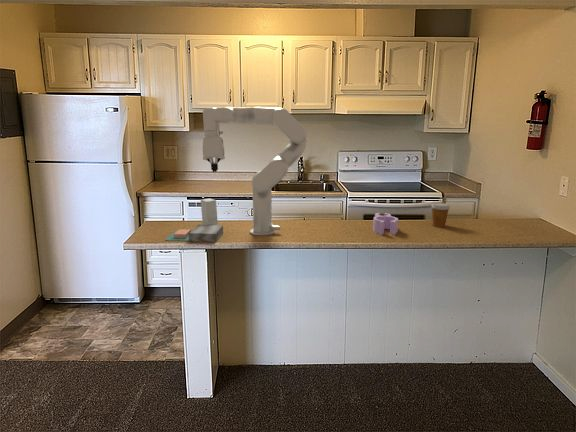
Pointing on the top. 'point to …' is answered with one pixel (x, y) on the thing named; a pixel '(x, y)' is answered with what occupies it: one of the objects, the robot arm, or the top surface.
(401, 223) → the top surface
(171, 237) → the mat
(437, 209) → the disposable coffee cup
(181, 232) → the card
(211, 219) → the skincare box
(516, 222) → the top surface
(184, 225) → the top surface
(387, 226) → the clip
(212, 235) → the grey flat block
